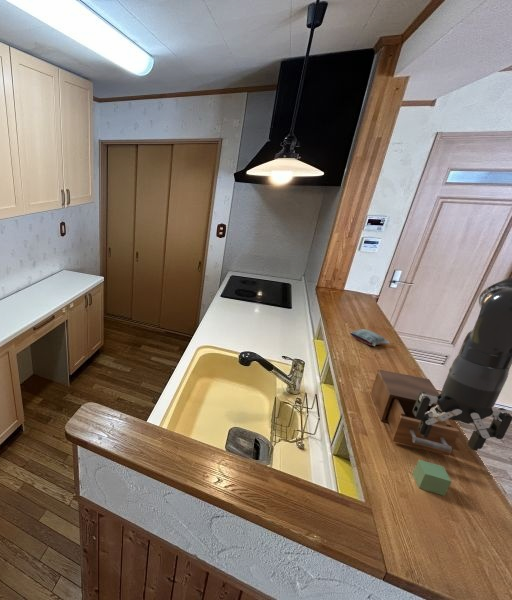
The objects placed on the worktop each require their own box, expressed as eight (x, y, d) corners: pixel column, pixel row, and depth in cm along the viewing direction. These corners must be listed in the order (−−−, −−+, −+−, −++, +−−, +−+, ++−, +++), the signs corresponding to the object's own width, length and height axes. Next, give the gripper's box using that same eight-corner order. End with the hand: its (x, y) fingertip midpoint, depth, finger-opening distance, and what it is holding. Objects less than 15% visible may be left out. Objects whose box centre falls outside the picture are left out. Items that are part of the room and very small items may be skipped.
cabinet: (436, 435, 90) (448, 407, 87) (380, 421, 96) (389, 394, 93) (419, 404, 103) (429, 379, 99) (370, 393, 108) (378, 369, 105)
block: (437, 480, 77) (443, 466, 75) (444, 496, 73) (451, 481, 72) (412, 473, 79) (418, 459, 77) (418, 488, 75) (425, 473, 74)
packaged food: (364, 335, 148) (366, 325, 146) (389, 347, 137) (392, 337, 135) (347, 337, 147) (350, 327, 145) (371, 349, 136) (375, 339, 134)
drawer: (456, 470, 79) (468, 445, 76) (397, 453, 84) (406, 429, 81) (429, 422, 94) (438, 400, 91) (380, 411, 99) (388, 389, 96)
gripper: (435, 379, 66) (410, 442, 72) (537, 399, 60) (501, 466, 65) (422, 362, 72) (401, 420, 78) (514, 378, 66) (483, 440, 72)
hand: (447, 441), depth 72 cm, fingers open, 7 cm apart
